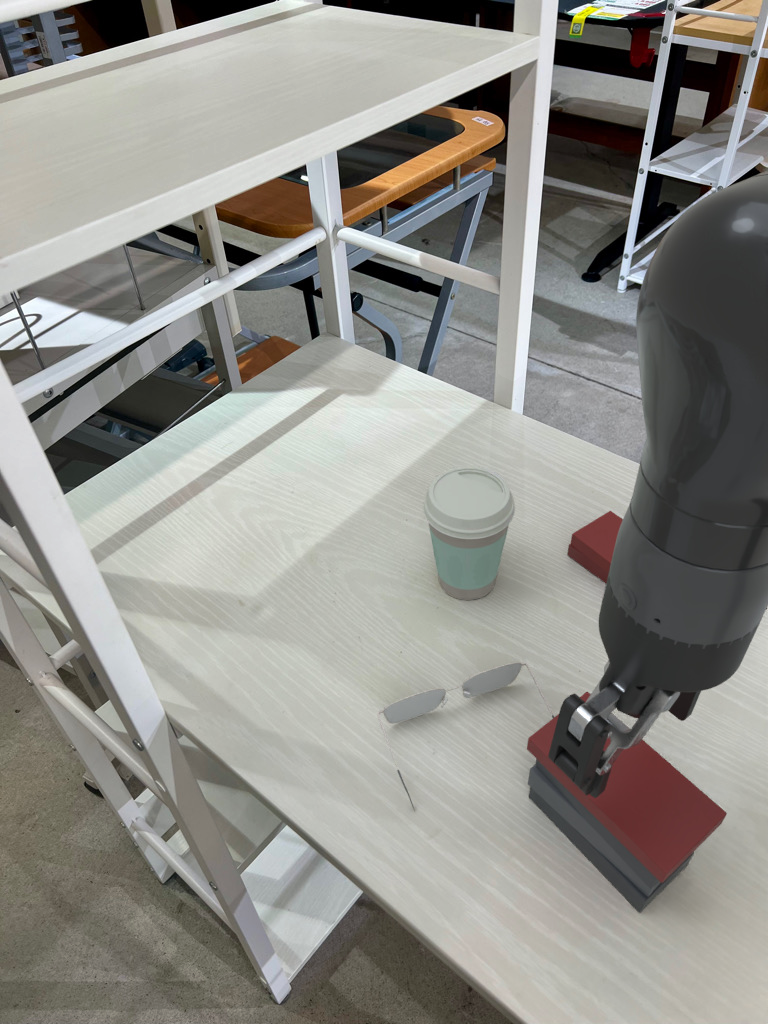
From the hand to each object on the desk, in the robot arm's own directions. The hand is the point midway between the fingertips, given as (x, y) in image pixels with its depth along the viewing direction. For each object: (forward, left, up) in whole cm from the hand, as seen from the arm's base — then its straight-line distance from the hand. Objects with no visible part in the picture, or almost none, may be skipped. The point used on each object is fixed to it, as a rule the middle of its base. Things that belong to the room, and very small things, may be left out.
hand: (631, 745), depth 49 cm
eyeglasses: (+12, +3, -13) cm, 18 cm away
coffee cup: (+26, -9, -13) cm, 30 cm away
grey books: (0, 0, -13) cm, 13 cm away
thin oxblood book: (0, 0, -5) cm, 5 cm away
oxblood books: (+16, -22, -13) cm, 30 cm away
